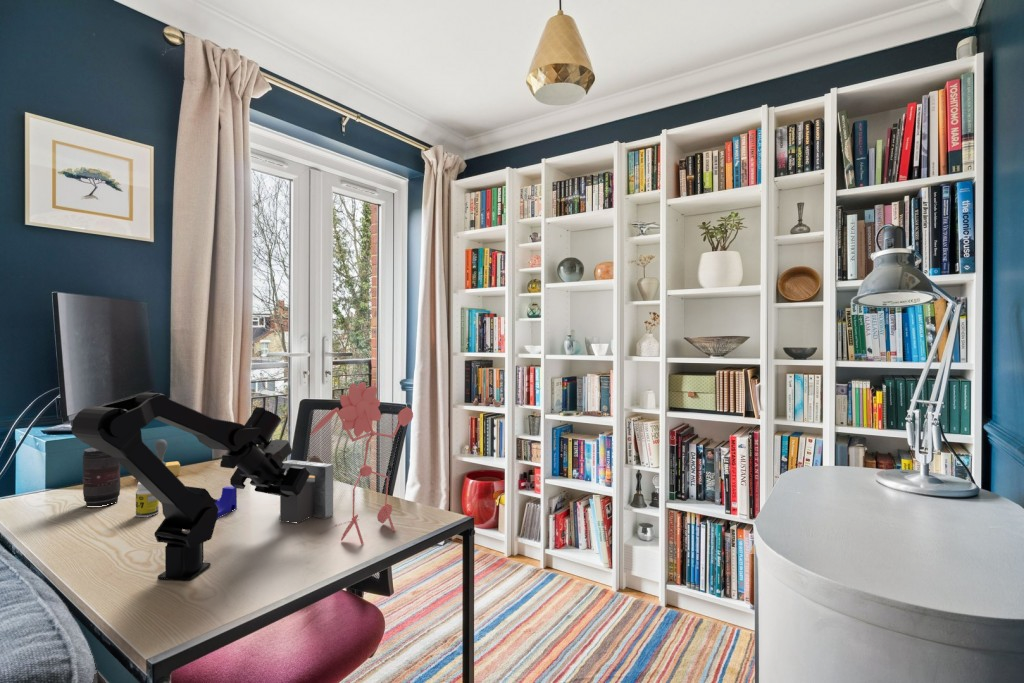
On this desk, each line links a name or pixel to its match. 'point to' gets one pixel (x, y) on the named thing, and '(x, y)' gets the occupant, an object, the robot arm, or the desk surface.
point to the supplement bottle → (145, 502)
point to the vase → (315, 459)
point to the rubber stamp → (160, 451)
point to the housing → (319, 485)
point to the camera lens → (100, 478)
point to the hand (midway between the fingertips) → (288, 495)
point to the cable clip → (227, 500)
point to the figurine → (359, 416)
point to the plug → (299, 503)
